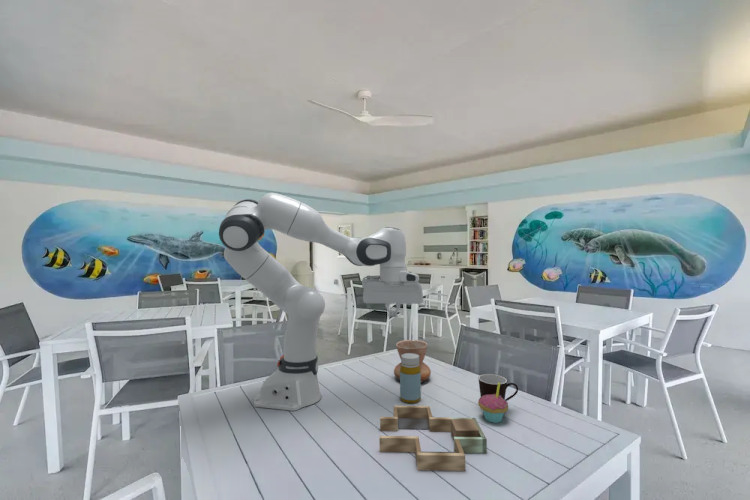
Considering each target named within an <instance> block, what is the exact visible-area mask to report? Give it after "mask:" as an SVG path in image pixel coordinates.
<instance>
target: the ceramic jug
mask: <svg viewBox="0 0 750 500" xmlns="http://www.w3.org/2000/svg"><path fill="white" fill-rule="evenodd" d="M395 345H396V350H397V354H398V356H399V359H400V360H401V355H402V354H405V353H414V354H417V355H419V367H420V371H421V383H422V382H425V381H427V380H428V379H429V378H430V376H431V375H432V374H431V372H432V371H431V368H430V367H429V366H428V364H426V363H424V359H425V356H426V355H427V350H428V343H427V342H425V341H423V340H419V339H414V340H413V339H403V340H400V341H398V342H397V343H396V344H395ZM400 368H401V362H399V363H398V364H396V366H395V367H394V369H393V373H394V375H395V376H394V377H396V378H397V379H398V380H400Z"/></svg>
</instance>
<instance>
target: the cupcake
mask: <svg viewBox="0 0 750 500" xmlns="http://www.w3.org/2000/svg"><path fill="white" fill-rule="evenodd" d="M499 389H500V381H499V383H498V386H497V392H496V394H489V395H483V396H482V397H481V396H480V397H479V399H478V401H477V404H478V407H479V408H480V409H481V410H482V411H483V416H484V418H485V420H486V421H487V422H490V423H495V424H498V423H501V422H502V420H503V417H504V414H505V413H506V412H507V411H508V410H509V404H508V403H509V402H508V400H507V401H506V400H504V398H502V397H501V396H499V395H498V394H499Z"/></svg>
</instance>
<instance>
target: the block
mask: <svg viewBox="0 0 750 500" xmlns="http://www.w3.org/2000/svg"><path fill="white" fill-rule="evenodd" d="M450 436H451V438H452V441H453V442H454V437H479V429H478V428H477V426H476V424H475V422H474V421H473V419H451V432H450Z"/></svg>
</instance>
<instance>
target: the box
mask: <svg viewBox="0 0 750 500" xmlns="http://www.w3.org/2000/svg"><path fill="white" fill-rule="evenodd" d="M451 419H473V421H474V422H475V424H476V426H477V428H478V429H479V437H454V441H453V451H422V449H421V442H420V437H419V436H418V435H417V436H416V435H412V436H411V435H408V436H407V435H379V440H378V441H379V452H381V453H414V454H415V463H416V469H417V471H448V472H449V471H452V472H455V471H456V472H457V471H459V472H461V471H462V472H466V454H488V448H487V447H488V445H487V444H488V443H487V442H488V440H487V437H486V435H485V433H484V431H483V430H482V428H481V426H480V424H479V422H478V420H477V418H476V417H447V416H445V417H441V416H440V417H435V416H433V414H432V410H431V406H430V405H393V416H380V418H379V422H380V423H379V431H380V432H399V430H424V431H425V430H427V431H428V430H429V432H436V433H437V432H446V433H447V432H448V433H451Z"/></svg>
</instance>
